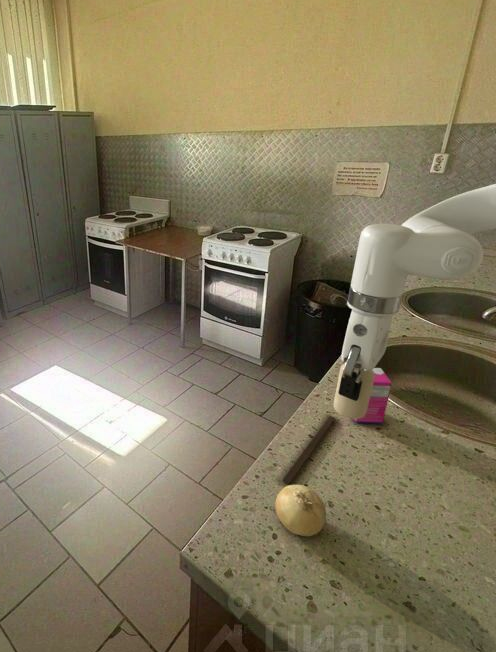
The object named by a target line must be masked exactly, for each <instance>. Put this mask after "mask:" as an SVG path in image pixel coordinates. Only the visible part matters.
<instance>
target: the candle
mask: <svg viewBox="0 0 496 652" xmlns="http://www.w3.org/2000/svg"><path fill="white" fill-rule="evenodd" d="M357 363H358V364H361V362H360V361H357ZM345 364H346V362H345V363H343V364H342V365H340V369H339V374H338V379H337V384H336V389H335V394H334V399H333V408H334V410H335V411H336V412H337V413H338V414H339V415H341V416H343V417H345V418H349V419H353V420H355V419H360V418H363V417H364V416H365V414H366V411H367V408H368V404H369V399H370V395H371V391H372V387H373V383H374V379H375V373H374V372H373V371H372V370H371V371H367V370H365V369H364V371H363V374H362V377H361V380H360V381H362V386H361V390H360V394H359V399H358V400H357V401H354V400H352V399H349V398H347V397H344V396H342V395H340V394H339V393H338V392H339V387H340V382H341V377H342V374H343V370H344V367H345ZM358 371H359V368H356V367H355V369H354V372H356V373H357V374H358Z"/></svg>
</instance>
